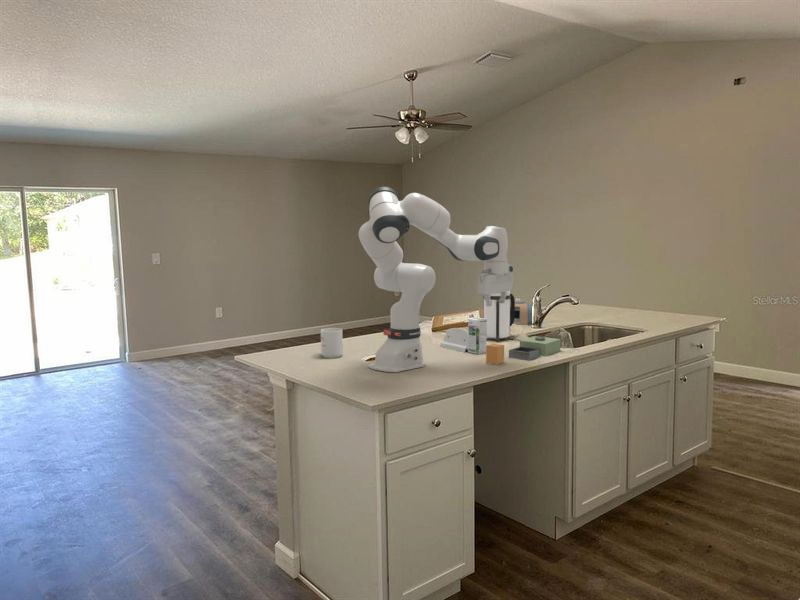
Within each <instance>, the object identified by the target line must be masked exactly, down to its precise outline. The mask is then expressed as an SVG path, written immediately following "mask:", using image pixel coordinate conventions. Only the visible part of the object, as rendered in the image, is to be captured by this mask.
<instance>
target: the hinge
mask: <svg viewBox="0 0 800 600" xmlns="http://www.w3.org/2000/svg"><path fill="white" fill-rule="evenodd" d="M439 347H440V348H443V349H446V350H447V349H448V350H452V351H457V352H461V353H466V351H468V329H465V328H462V327H461V328H460V327H451V328H448V329H447V330H446V332H445V335H444V337H443V340H442V341H441V342H440V343H439Z"/></svg>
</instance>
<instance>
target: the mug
mask: <svg viewBox="0 0 800 600" xmlns="http://www.w3.org/2000/svg"><path fill="white" fill-rule="evenodd" d="M343 339H344V338H343V329H342V328H338V327H329V328H328V327H327V328H322V329H320V349H321V350H320V353H321V356H322V357H323V358H326V359H337V358H341V356H343V354H344V351H343V350H344V345H343V344H344V343H343Z"/></svg>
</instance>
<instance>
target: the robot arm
mask: <svg viewBox="0 0 800 600" xmlns="http://www.w3.org/2000/svg"><path fill="white" fill-rule="evenodd" d="M367 210H368V214H369V219H368V221H365V223H363V224H362V225H361V226H360V228H359V230H358V239H359V241H360V244H361V245H362V247H363V249H364V251H365V252H366V254H367V255H368V256H369V257H370V259H371V260H372V261H373V263H374V265H375V266H376V268H375V269H374V274H373V280H374V283H375V285H376V287H377V288H379V289H381V290H384V291H388V292H398V293H399V292H401V296H400V299H399V301H397V302H395V303H394V304H393V305H392V306H391V307H390V315H389V316H390V327H389V329H388V330H387V329H384V330H383V332H382V333H383V336H387V338H386V340H385V341H384V342H383V343H382V344H381V346H380V347H379V348H378V349H377V350H376V353H375V357H374V358H375V360H374V362H372V363H369V365H368V368H370V369H372V370H375V371H380V372H386V373H387V372H388V373H398V372H403V371H408V370H412V369H413V370H414V369H419V368H423V367H425V366H426V363H425V362H424V356H423V348H422V347H423V346H422V342H421V339H420V337H421V333H422V332H421V327H420V308H421V304H422V302H423V299H424V297H425V296H426V295H427V294H428V293H429V292H430V291H431V290H432V289H433V288H434V286H435V284H436V279H437V278H436V276H437V275H436V272H435V271H434V268H433V267H432V266H429V265H428V264H427V265H426V264H422V263H411V262H409V263H407V262H403V259H404V251H403V249H402V247H401V246H400V245H399V243H398V242H397V241H398V240H400V239H401V238H402V237H403V236H404V235H405V234H407V232H408V231H409V229H410V227H411V226H413V227H415V228H417V229H418V230H420V231H421V232H423V233H425V234H427V235H429V236H430V237H431V238H432V239H433V240H435V241H437V242H438V243H439V244H440V245H442V246H444V247H445V248H446V249H447V251H448V252H449V253H450V255H451V257H452V258H453V259H454V260H456V261H459V262H460V261H461V262H463V261H473V262H483V263H484V264H483V270H481V273H480V274H479V277H478V281H477V293H478V295H481V296H483V295H484V298H485V301H486V306H492V301H491V300H490V297H491V294H495V293H500V294H501V297H500V299H499V303H505V298H506V295H507V291H510V292H511V291H512V290H513V287H514V274H513V273H514V272H515V267H514V266H513V265H511V264H509V263H508V256H507V253H508V250H509V249H508V247H509V246H508V245H509V242H508V233H507V229H506V228H505V227H503V226H499V225H487V226H485V228H484V230H483V231H481V232H479V233H477V234H461V233H458V234H457V233H455V231H453V230H452V229H450V225H451V220H452V219H451V213H450V212H449V211H448V209H446V208H445V207H444V206H443V205H441V204H440V203H439V202H437V201H435V200H434V199H432V198H430V197H428V196H427V195H424V194H421V193H419V192H411V193H409V194H407V195H406V196H405V197H404V198H403V199H402V200H400V198H399V196H398V194H397V192H396V191H395V190H394V189H393V188H391V187H389V186H378V187H377V188H375V189H373V190H372V192H371V193H370V196H369V199H368V209H367Z"/></svg>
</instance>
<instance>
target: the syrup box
mask: <svg viewBox="0 0 800 600" xmlns="http://www.w3.org/2000/svg"><path fill="white" fill-rule="evenodd" d="M467 323H468V324H467V325H468V326H467V328H468V329H467V330H468V350H467V353H469V354H470V353H471V354H475V355H479V354H484V353H485V354H486V345H488V344H487V343H488V341H487V338H488V337H487V319H484V317H482V318H481V317H469V318H468V322H467Z"/></svg>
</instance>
